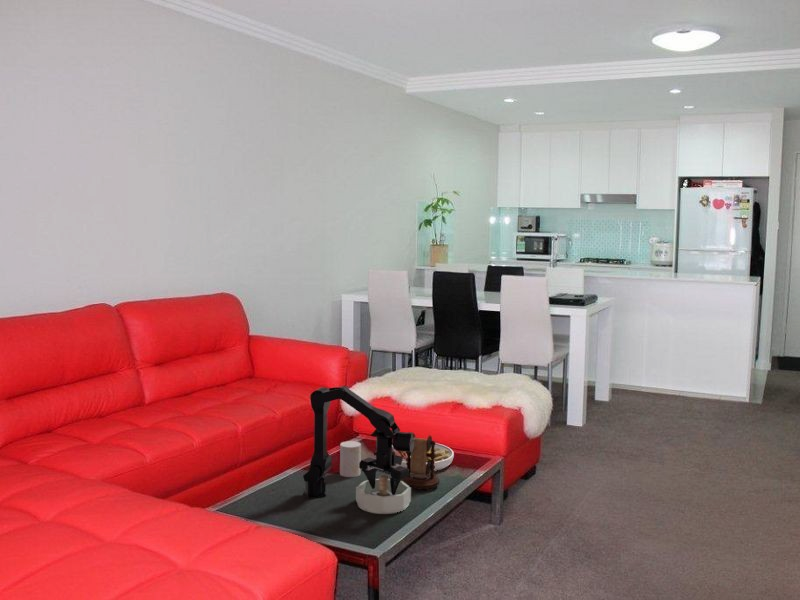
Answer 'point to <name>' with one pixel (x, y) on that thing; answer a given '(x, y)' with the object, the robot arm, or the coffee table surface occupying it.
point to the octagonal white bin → (382, 498)
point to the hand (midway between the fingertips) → (383, 491)
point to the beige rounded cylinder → (383, 485)
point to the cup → (350, 458)
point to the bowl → (441, 459)
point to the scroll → (421, 465)
